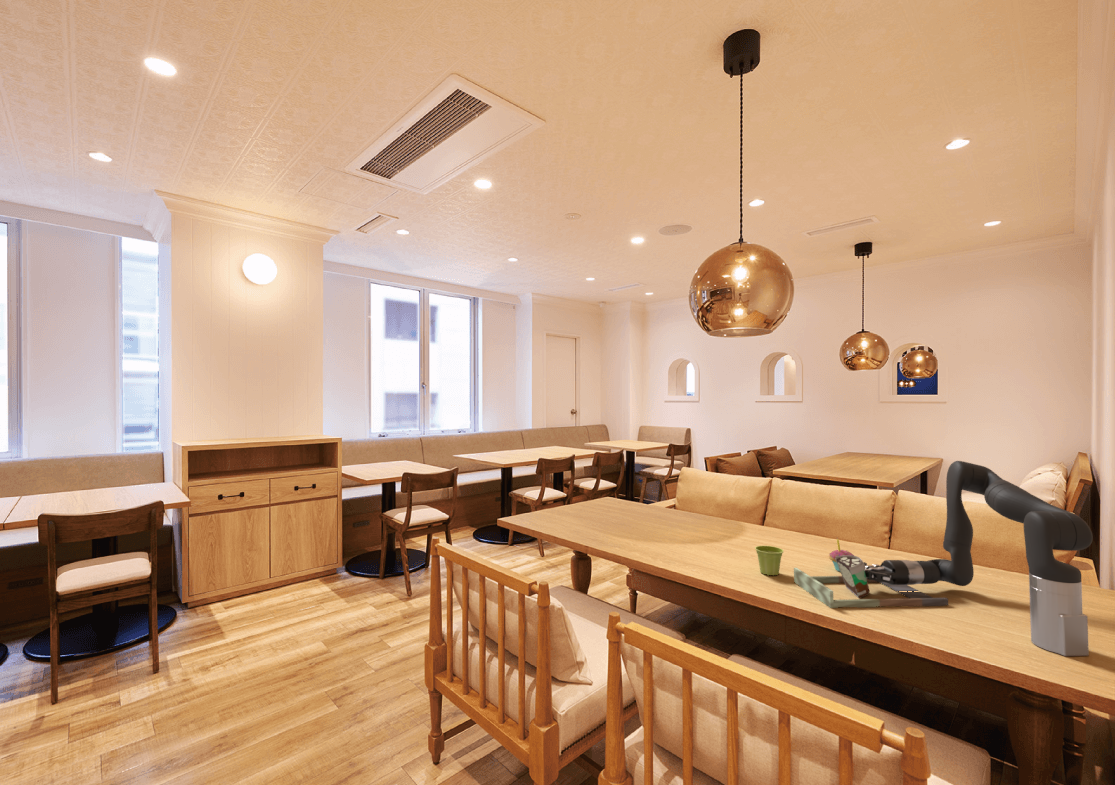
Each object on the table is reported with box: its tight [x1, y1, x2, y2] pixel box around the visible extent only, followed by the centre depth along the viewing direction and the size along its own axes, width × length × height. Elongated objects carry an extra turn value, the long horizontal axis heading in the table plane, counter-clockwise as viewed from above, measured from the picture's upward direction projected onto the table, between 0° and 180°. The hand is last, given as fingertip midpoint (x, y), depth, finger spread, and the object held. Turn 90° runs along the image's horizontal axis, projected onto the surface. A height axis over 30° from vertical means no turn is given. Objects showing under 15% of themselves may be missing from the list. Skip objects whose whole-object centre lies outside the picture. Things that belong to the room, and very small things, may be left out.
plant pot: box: [754, 545, 785, 576], centre depth 176 cm, size 9×9×9 cm
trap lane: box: [793, 567, 949, 609], centre depth 157 cm, size 21×36×5 cm, turn 92°
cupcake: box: [828, 537, 855, 572], centre depth 179 cm, size 9×8×12 cm
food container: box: [835, 555, 870, 599], centre depth 158 cm, size 12×6×10 cm, turn 171°
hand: (848, 572), depth 158 cm, fingers closed
